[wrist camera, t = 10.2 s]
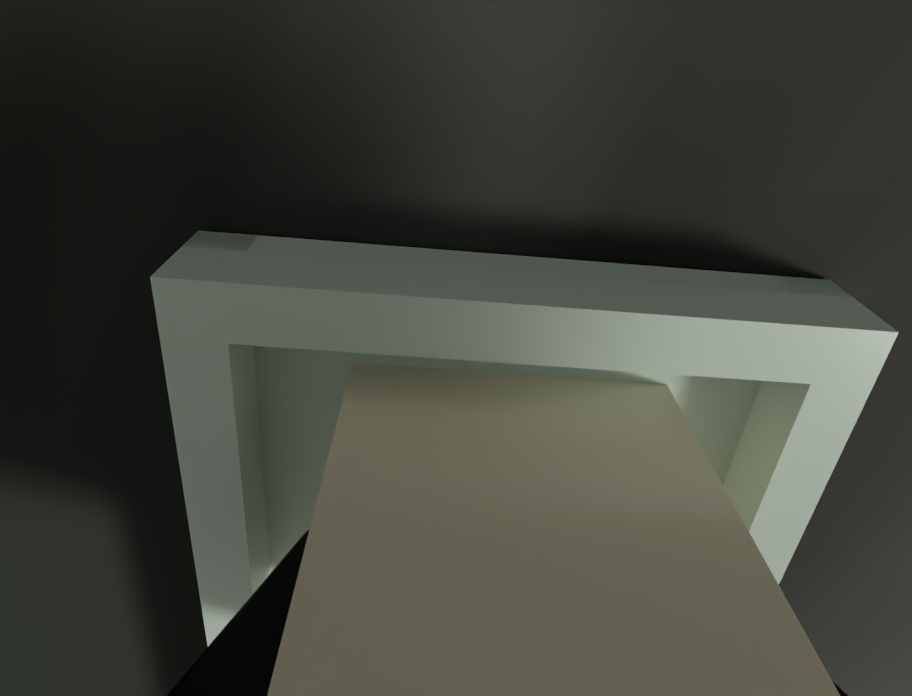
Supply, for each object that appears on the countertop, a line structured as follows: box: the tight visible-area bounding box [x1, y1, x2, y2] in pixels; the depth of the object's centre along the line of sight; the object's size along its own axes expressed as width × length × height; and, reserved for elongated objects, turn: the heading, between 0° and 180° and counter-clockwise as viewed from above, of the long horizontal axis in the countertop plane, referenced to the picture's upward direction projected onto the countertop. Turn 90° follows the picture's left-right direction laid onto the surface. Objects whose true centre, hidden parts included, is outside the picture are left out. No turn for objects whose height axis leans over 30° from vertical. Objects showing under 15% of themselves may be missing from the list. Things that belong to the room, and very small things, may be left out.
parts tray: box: [150, 231, 899, 646], centre depth 12 cm, size 17×9×2 cm, turn 175°
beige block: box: [267, 363, 840, 696], centre depth 8 cm, size 4×4×6 cm
